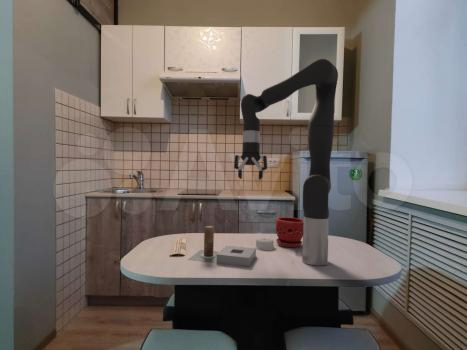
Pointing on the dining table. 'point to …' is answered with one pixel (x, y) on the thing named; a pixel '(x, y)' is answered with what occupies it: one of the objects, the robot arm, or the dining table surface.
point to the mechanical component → (264, 244)
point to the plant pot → (289, 231)
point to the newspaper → (178, 246)
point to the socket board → (228, 256)
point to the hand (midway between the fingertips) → (250, 179)
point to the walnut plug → (208, 241)
